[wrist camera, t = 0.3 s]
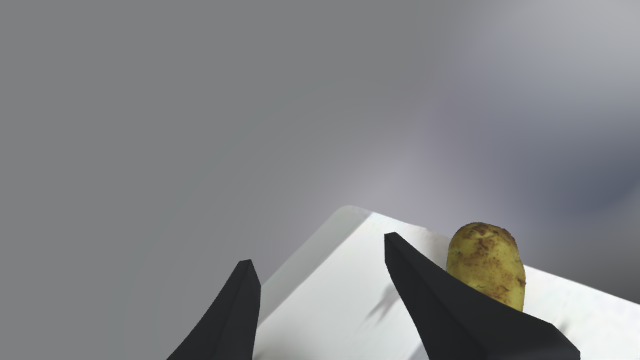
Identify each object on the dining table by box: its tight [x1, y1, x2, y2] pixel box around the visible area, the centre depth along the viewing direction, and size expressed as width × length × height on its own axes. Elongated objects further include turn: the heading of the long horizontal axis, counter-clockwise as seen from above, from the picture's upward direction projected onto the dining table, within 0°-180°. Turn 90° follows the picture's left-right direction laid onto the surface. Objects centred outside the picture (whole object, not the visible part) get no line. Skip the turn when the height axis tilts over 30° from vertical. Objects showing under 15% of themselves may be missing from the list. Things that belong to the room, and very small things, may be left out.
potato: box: [446, 222, 526, 312], centre depth 27 cm, size 8×13×8 cm, turn 137°
